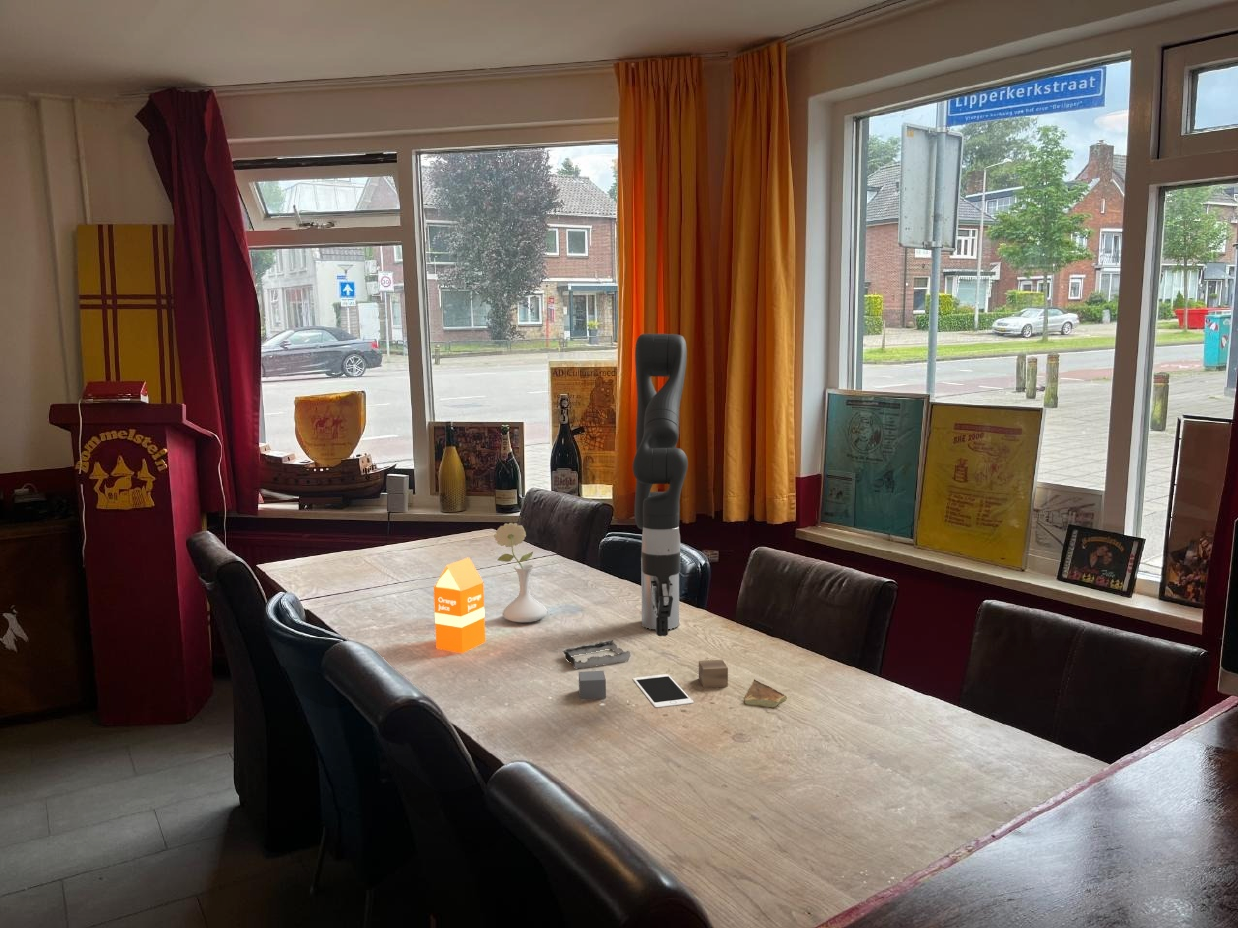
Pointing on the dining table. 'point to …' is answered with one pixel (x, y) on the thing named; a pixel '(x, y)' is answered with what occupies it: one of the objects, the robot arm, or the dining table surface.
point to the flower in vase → (524, 604)
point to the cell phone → (662, 691)
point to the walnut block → (713, 673)
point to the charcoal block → (592, 685)
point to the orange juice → (459, 608)
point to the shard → (763, 695)
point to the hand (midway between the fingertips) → (661, 634)
